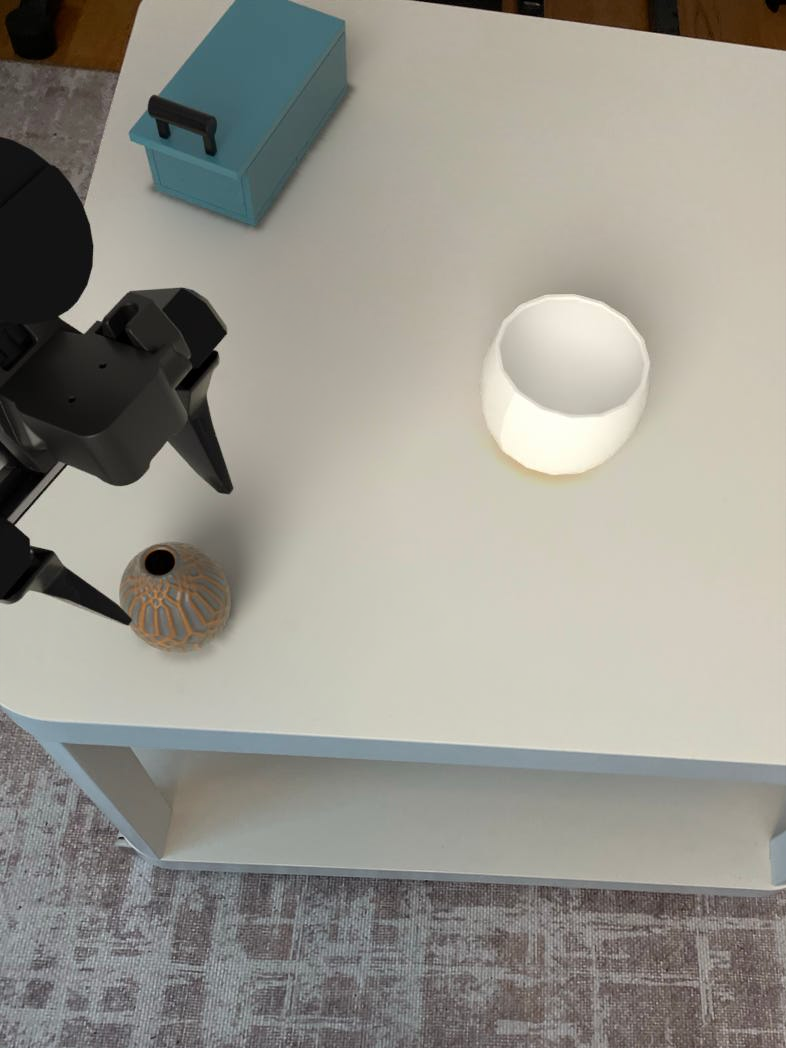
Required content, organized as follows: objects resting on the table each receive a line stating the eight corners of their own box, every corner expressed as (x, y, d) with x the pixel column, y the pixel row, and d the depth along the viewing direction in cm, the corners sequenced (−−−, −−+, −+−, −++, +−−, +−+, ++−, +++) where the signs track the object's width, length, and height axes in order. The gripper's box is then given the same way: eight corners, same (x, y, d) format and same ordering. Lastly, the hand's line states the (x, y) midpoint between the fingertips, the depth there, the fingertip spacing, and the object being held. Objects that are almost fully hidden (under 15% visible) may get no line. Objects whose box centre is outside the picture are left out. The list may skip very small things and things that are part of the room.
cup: (655, 448, 73) (693, 368, 64) (545, 530, 69) (570, 457, 60) (551, 349, 76) (575, 261, 67) (440, 423, 72) (449, 338, 63)
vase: (255, 601, 64) (239, 541, 56) (203, 682, 62) (178, 631, 54) (170, 560, 65) (141, 495, 57) (114, 639, 62) (76, 582, 54)
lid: (238, 181, 72) (231, 136, 68) (130, 141, 72) (117, 94, 69) (345, 29, 80) (344, -19, 77) (248, -6, 81) (242, -55, 77)
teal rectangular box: (255, 227, 78) (247, 169, 73) (155, 189, 78) (139, 130, 73) (347, 90, 86) (345, 30, 80) (255, 57, 86) (248, -6, 81)
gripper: (-142, 495, 29) (166, 736, 41) (194, 155, 37) (375, 439, 48) (-258, 470, 36) (36, 684, 47) (48, 184, 43) (238, 429, 54)
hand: (178, 554), depth 49 cm, fingers open, 9 cm apart
